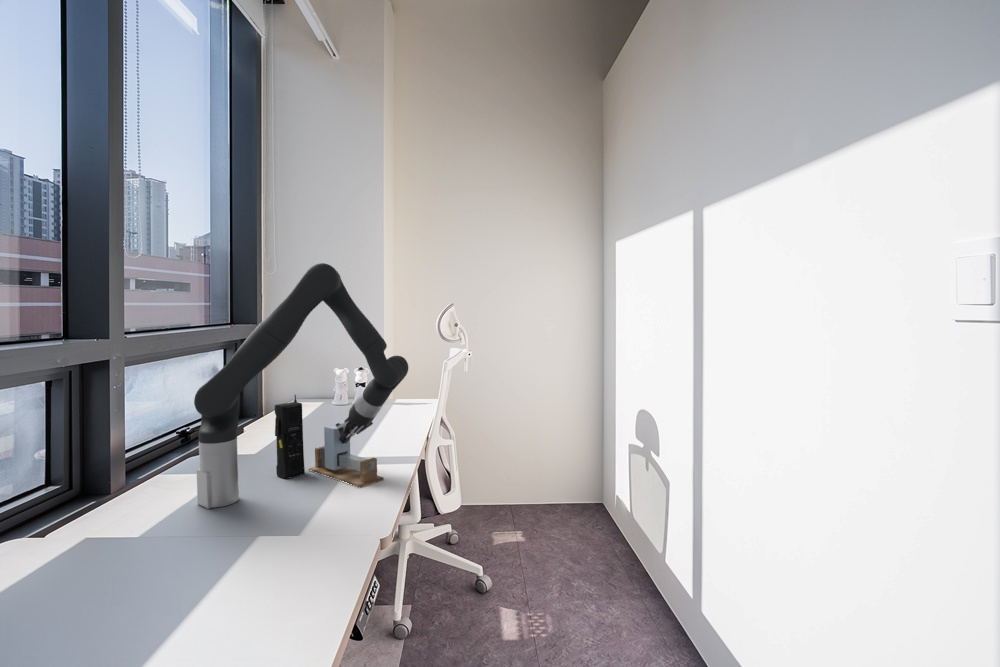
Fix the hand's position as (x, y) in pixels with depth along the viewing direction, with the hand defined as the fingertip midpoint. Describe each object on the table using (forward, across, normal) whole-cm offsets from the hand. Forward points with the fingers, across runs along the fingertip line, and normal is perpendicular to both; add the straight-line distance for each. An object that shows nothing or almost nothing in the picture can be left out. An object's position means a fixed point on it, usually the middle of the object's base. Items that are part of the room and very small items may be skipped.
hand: (342, 441), depth 170 cm
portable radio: (+17, +11, -1) cm, 20 cm away
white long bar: (+5, 0, +6) cm, 7 cm away
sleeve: (+8, 0, +4) cm, 9 cm away
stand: (+7, 0, +8) cm, 11 cm away
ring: (+11, 0, +1) cm, 11 cm away
